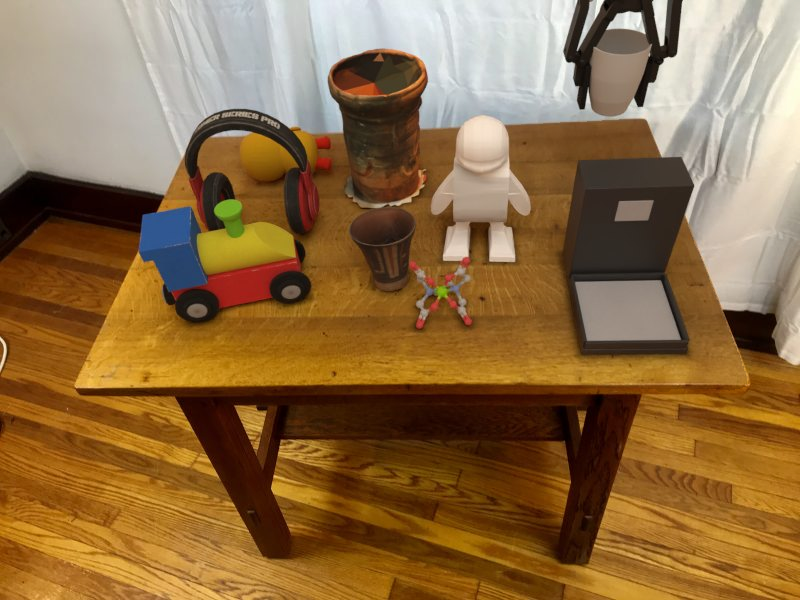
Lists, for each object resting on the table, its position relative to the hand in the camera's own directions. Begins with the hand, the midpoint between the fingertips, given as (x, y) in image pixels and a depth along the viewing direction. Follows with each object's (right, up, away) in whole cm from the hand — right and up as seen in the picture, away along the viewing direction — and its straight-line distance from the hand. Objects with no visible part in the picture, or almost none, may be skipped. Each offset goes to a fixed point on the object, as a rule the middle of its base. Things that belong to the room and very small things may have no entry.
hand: (609, 103), depth 92 cm
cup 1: (-33, -26, -4) cm, 42 cm away
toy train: (-53, -28, -4) cm, 61 cm away
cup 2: (0, -1, +1) cm, 1 cm away
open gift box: (-2, -29, -10) cm, 31 cm away
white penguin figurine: (-19, -20, 0) cm, 28 cm away
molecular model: (-25, -31, -9) cm, 41 cm away
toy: (-50, -8, +15) cm, 52 cm away
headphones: (-52, -18, +5) cm, 55 cm away
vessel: (-33, -10, +11) cm, 36 cm away
